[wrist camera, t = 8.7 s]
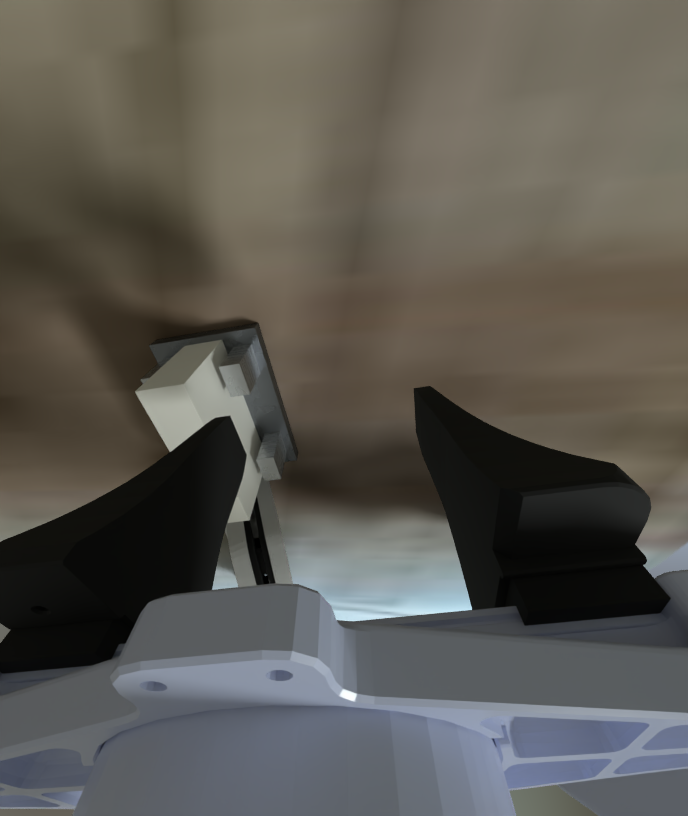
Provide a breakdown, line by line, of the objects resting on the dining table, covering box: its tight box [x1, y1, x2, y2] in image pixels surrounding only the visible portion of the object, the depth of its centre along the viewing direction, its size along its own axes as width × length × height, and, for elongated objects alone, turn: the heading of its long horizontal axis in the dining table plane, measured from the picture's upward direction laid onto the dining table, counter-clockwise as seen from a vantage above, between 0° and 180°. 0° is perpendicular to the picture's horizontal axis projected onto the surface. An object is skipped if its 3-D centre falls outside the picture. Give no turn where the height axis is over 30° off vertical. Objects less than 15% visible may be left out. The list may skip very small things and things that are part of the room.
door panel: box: [135, 340, 262, 523], centre depth 21 cm, size 3×10×6 cm, turn 9°
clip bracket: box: [140, 323, 298, 481], centre depth 22 cm, size 7×11×4 cm, turn 9°
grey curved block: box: [225, 475, 293, 587], centre depth 29 cm, size 17×5×10 cm, turn 2°
